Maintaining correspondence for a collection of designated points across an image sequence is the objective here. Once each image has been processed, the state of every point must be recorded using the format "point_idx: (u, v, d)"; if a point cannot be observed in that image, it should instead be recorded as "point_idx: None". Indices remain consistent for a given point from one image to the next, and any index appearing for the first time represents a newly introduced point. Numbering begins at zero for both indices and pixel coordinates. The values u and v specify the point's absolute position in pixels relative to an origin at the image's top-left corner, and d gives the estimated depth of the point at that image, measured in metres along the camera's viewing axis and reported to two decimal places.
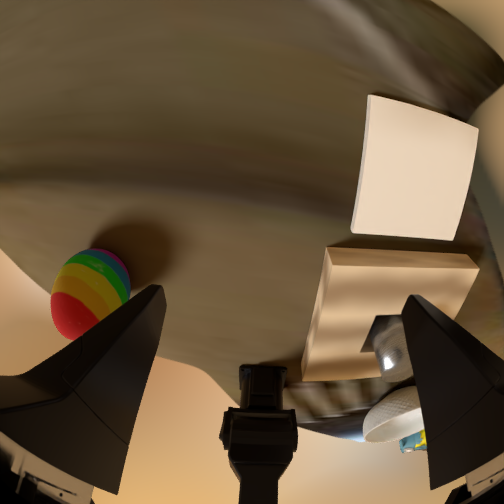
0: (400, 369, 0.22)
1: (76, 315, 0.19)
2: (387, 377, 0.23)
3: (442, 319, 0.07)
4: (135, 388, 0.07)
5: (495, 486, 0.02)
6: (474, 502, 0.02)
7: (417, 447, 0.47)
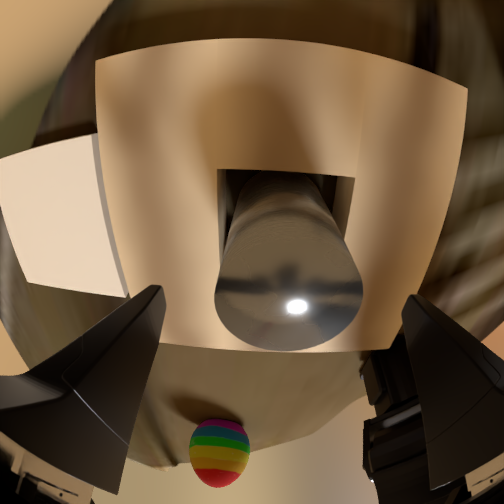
0: (290, 315, 0.09)
1: (203, 476, 0.24)
2: (320, 335, 0.10)
3: (442, 319, 0.07)
4: (135, 388, 0.07)
5: (495, 486, 0.02)
6: (474, 502, 0.02)
7: None
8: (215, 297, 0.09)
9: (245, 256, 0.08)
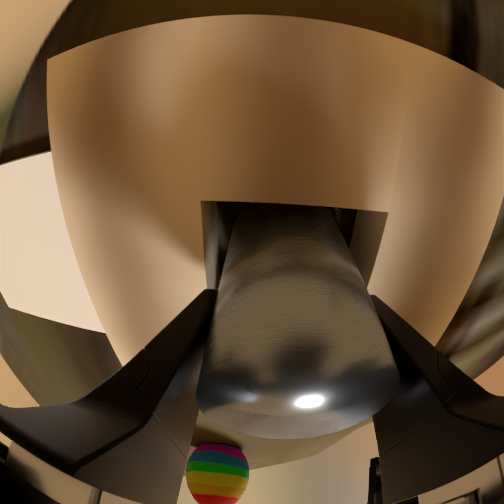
0: (299, 415, 0.06)
1: (200, 501, 0.21)
2: (334, 426, 0.06)
3: (395, 322, 0.07)
4: None
5: None
6: None
7: None
8: (197, 399, 0.06)
9: (237, 365, 0.05)
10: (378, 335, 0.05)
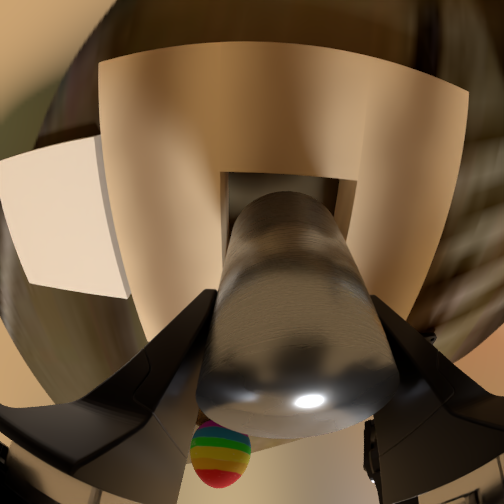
0: (299, 415, 0.06)
1: (204, 477, 0.24)
2: (334, 425, 0.06)
3: (395, 322, 0.07)
4: None
5: None
6: None
7: None
8: (197, 398, 0.06)
9: (236, 365, 0.05)
10: (378, 334, 0.05)
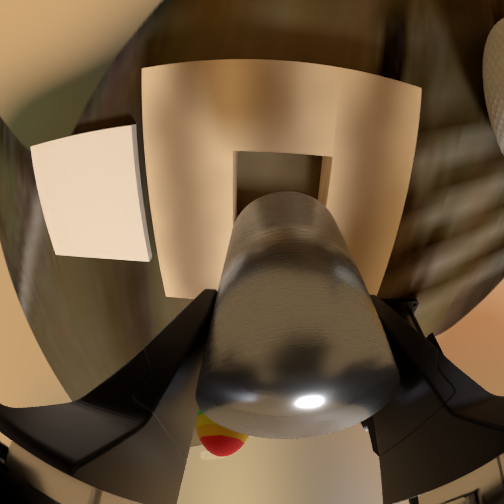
0: (299, 415, 0.06)
1: (208, 444, 0.29)
2: (334, 426, 0.06)
3: (395, 322, 0.07)
4: None
5: None
6: None
7: None
8: (197, 398, 0.06)
9: (236, 365, 0.05)
10: (378, 335, 0.05)
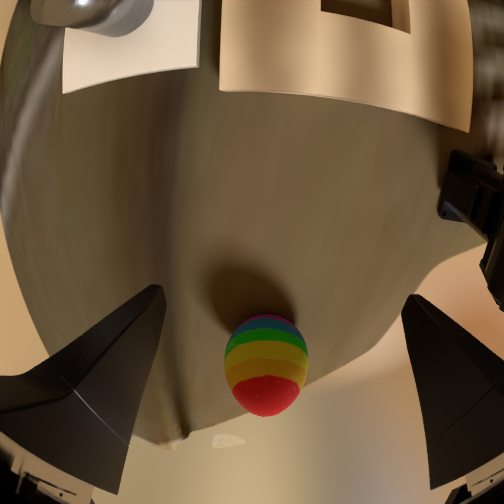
0: None
1: (248, 393, 0.20)
2: None
3: (442, 319, 0.07)
4: (135, 388, 0.07)
5: (495, 486, 0.02)
6: (474, 502, 0.02)
7: None
8: (32, 0, 0.05)
9: None
10: None
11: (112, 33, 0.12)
